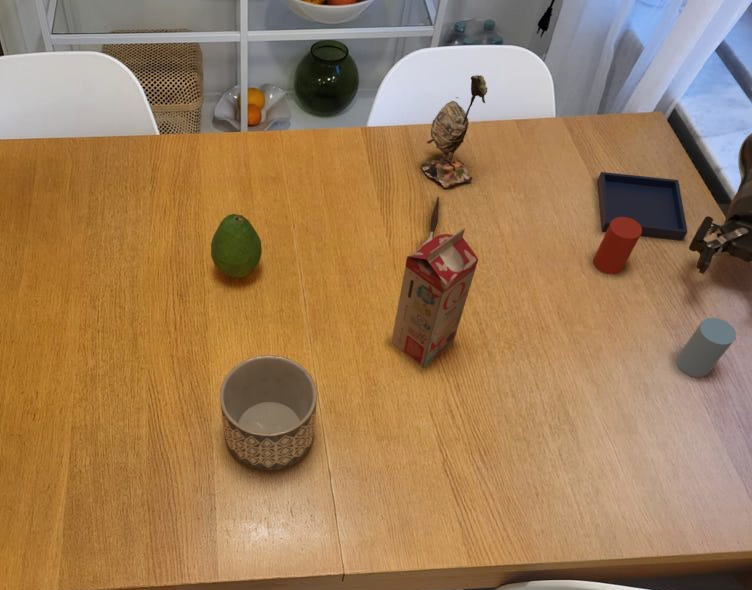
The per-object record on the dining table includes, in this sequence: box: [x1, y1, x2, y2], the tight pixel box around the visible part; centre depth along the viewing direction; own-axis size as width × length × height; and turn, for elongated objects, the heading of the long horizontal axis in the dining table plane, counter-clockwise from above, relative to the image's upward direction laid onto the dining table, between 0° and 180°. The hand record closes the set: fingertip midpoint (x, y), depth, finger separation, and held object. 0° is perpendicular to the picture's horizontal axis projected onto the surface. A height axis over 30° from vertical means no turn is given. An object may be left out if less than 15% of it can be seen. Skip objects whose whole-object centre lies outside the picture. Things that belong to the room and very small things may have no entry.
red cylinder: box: [592, 217, 642, 275], centre depth 121 cm, size 5×5×8 cm
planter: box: [219, 354, 318, 471], centre depth 102 cm, size 13×13×10 cm
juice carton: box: [390, 227, 479, 369], centre depth 106 cm, size 7×7×22 cm
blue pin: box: [675, 317, 737, 378], centre depth 109 cm, size 5×5×8 cm
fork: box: [420, 196, 440, 247], centre depth 128 cm, size 3×16×2 cm, turn 166°
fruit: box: [210, 213, 263, 279], centre depth 119 cm, size 8×8×12 cm
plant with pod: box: [420, 74, 489, 188], centre depth 130 cm, size 8×11×20 cm
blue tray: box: [596, 171, 688, 241], centre depth 130 cm, size 13×13×2 cm
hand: (733, 280), depth 111 cm, fingers open, 8 cm apart
